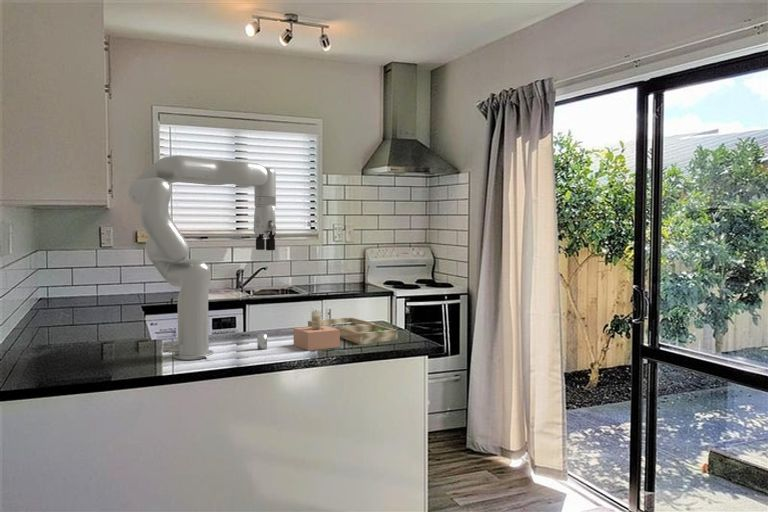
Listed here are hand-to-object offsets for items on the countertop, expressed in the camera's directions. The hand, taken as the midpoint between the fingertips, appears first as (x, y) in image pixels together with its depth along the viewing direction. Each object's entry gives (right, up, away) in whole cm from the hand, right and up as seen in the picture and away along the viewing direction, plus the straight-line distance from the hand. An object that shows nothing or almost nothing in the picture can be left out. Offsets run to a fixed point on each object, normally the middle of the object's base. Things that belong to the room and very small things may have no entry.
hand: (265, 250), depth 217 cm
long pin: (+19, -34, -7) cm, 39 cm away
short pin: (+1, -34, -12) cm, 36 cm away
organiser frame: (+31, -33, +15) cm, 48 cm away
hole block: (+19, -34, -7) cm, 39 cm away
